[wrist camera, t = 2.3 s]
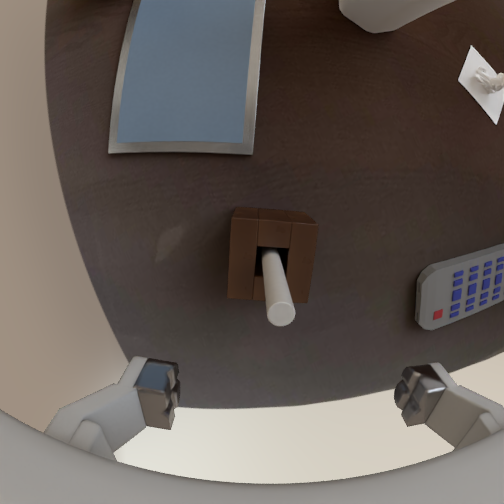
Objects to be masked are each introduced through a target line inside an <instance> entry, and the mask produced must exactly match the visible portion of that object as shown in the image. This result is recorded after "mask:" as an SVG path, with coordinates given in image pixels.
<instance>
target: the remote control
mask: <svg viewBox="0 0 504 504" xmlns="http://www.w3.org/2000/svg"><path fill="white" fill-rule="evenodd" d="M503 300H504V243H502V244H499V245H496V246H493V247H490V248H487V249H483V250H480V251H477V252H473V253H470V254H467V255H463V256H460V257H456V258H453V259H449V260H446V261H442V262H438V263H435V264H431V265H429V266H427V267H426V268H425V269H424V270H423V271H422V272H421V274H420V275H419V277H418V279H417V292H416V310H415V320H416V322H417V323H418V324H419V325H420V326H421V327H422V328H423V329H427V330H434V329H436V328H439V327H442V326H445V325H447V324H450V323H452V322H454V321H457V320H460V319H462V318H465V317H467V316H469V315H472V314H474V313H477V312H479V311H481V310H483V309H486V308H488V307H490V306H492V305H494V304H496V303H499V302H501V301H503Z"/></svg>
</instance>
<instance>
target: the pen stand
mask: <svg viewBox="0 0 504 504" xmlns="http://www.w3.org/2000/svg"><path fill="white" fill-rule="evenodd" d="M318 226H319V225H318V224H317V223H316V222H315V221H314V220H313V219H312V218H310V217H309V216H308V215H307V214H306V213H305V212H297V211H286V210H284V211H283V210H274V209H262V208H258V209H257V208H248V207H236V209H235V211H234V213H233V215H232V218H231V230H230V247H229V266H228V286H227V298H231V299H245V300H252V299H253V300H258V301H266V298H265V287H264V277H263V266H262V255H260V254H256V250H257V246H263V247H277V248H280V252H279V256H280V260H281V263H282V267H283V270H284V274H285V277H286V281H287V284H288V288H289V291H290V295H291V298H292V302H293V303H307V302H308V296H309V290H310V283H311V277H312V270H313V263H314V256H315V249H316V242H317V234H318Z"/></svg>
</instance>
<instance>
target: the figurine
mask: <svg viewBox="0 0 504 504" xmlns="http://www.w3.org/2000/svg"><path fill="white" fill-rule="evenodd" d="M458 81H459V82H460V83H461V84H462V85H463V86H464V87H465V88H466V89H467V90H468V92H469V93H470V94H471V95H472V96H473V97H474V98H475V99H476V101H477V102H478V103H479V104H480V105H481V107H482V108H483V109H484V110H485V112H486V113H487V114H488V115H489V117H490V118H491V119H492V120H493V122H494V123H495V124H496V125H497V122H498V119H499V116H500V112H501V109H502V106H503V103H504V74H503V73H499V74H498V75H497V74H496V73H495V71H494V70H493V69H492V68H491V67H490V65H489V64H488V63H487V62H486V61H485V60H484V59H483V58H482V56H481V55H480V54H479V53H478V52H477V51H476V50H475V49H474V48H473V47H472V45H471V47H470V50H469V52H468V55H467V58H466V61H465V63H464V66H463V69H462V71H461V74H460V76H459V79H458Z"/></svg>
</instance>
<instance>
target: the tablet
mask: <svg viewBox="0 0 504 504" xmlns="http://www.w3.org/2000/svg"><path fill="white" fill-rule="evenodd" d="M265 2H266V0H134V1H133V5H132V8H131V12H130V15H129V19H128V23H127V27H126V31H125V35H124V40H123V44H122V49H121V54H120V59H119V64H118V70H117V76H116V82H115V89H114V96H113V104H112V112H111V122H110V133H109V147H108V154H120V153H157V152H180V153H218V154H237V155H253V148H254V135H255V122H256V110H257V97H258V85H259V72H260V60H261V48H262V36H263V25H264V13H265Z"/></svg>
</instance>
